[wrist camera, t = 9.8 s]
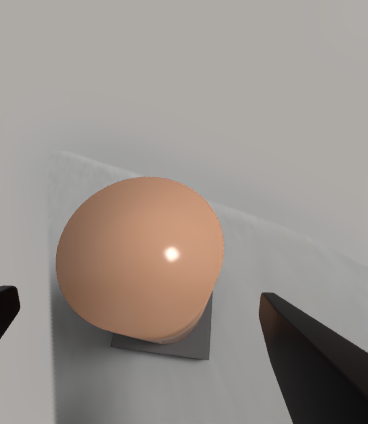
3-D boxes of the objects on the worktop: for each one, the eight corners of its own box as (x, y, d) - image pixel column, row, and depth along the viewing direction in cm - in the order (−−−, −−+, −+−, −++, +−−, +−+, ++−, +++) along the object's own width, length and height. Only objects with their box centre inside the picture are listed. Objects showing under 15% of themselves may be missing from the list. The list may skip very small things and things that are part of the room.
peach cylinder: (207, 340, 18) (239, 325, 7) (128, 347, 17) (36, 342, 7) (198, 264, 21) (211, 172, 10) (131, 269, 21) (72, 181, 10)
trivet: (207, 359, 18) (209, 360, 17) (115, 346, 19) (110, 346, 18) (212, 267, 22) (214, 262, 21) (136, 258, 23) (133, 253, 21)
